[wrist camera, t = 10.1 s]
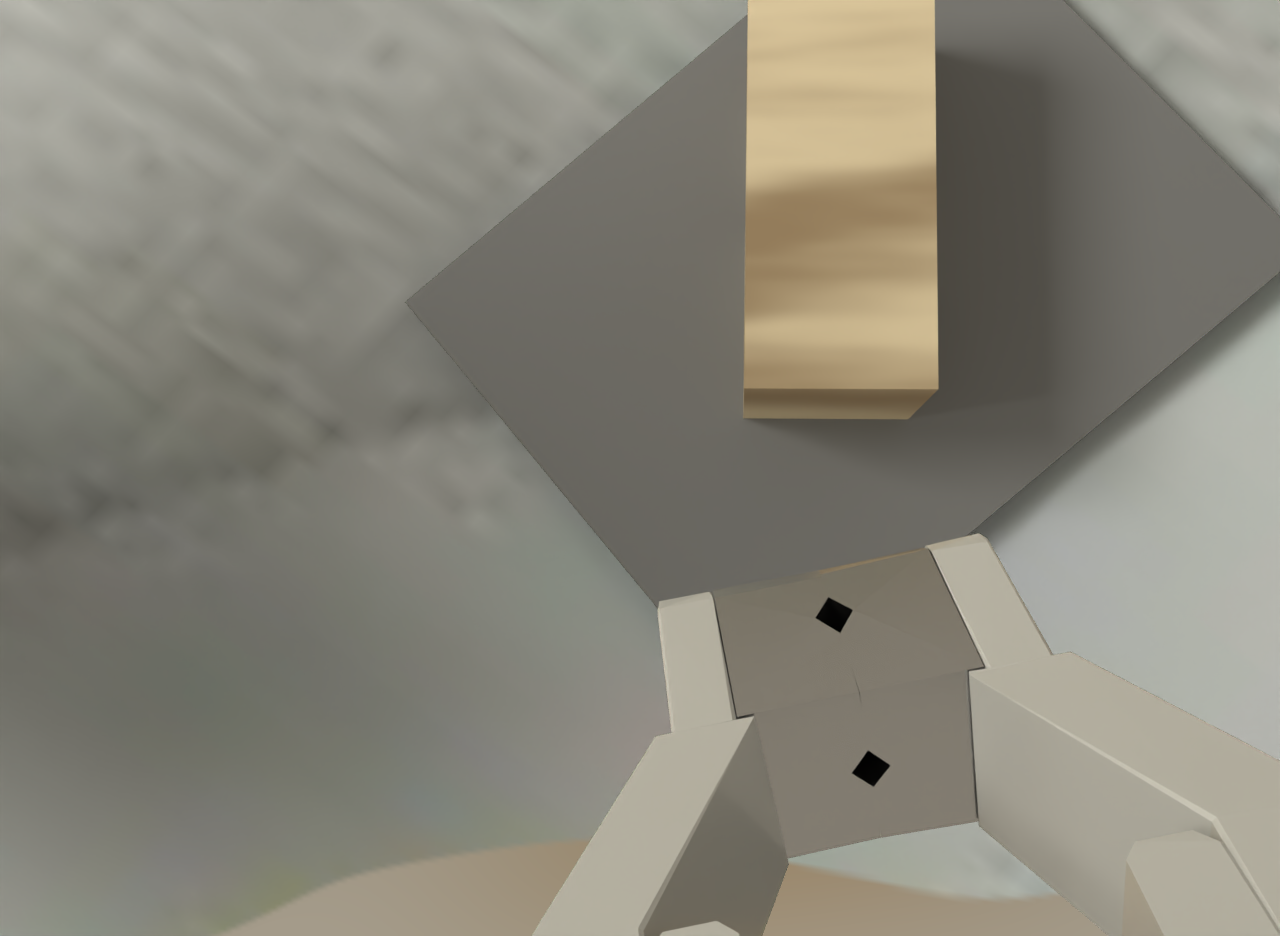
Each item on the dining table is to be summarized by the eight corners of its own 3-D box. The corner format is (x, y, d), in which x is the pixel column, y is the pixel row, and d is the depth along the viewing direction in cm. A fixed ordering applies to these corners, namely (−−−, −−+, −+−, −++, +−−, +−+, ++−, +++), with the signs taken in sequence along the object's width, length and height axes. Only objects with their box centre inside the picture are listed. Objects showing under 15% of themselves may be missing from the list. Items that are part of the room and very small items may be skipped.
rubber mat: (748, 715, 33) (749, 719, 32) (414, 309, 35) (405, 301, 34) (1292, 257, 33) (1309, 246, 32) (921, -117, 36) (927, -137, 35)
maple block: (938, 389, 28) (934, -48, 29) (744, 388, 28) (749, -42, 29) (907, 419, 33) (905, 45, 34) (743, 418, 33) (747, 49, 34)
